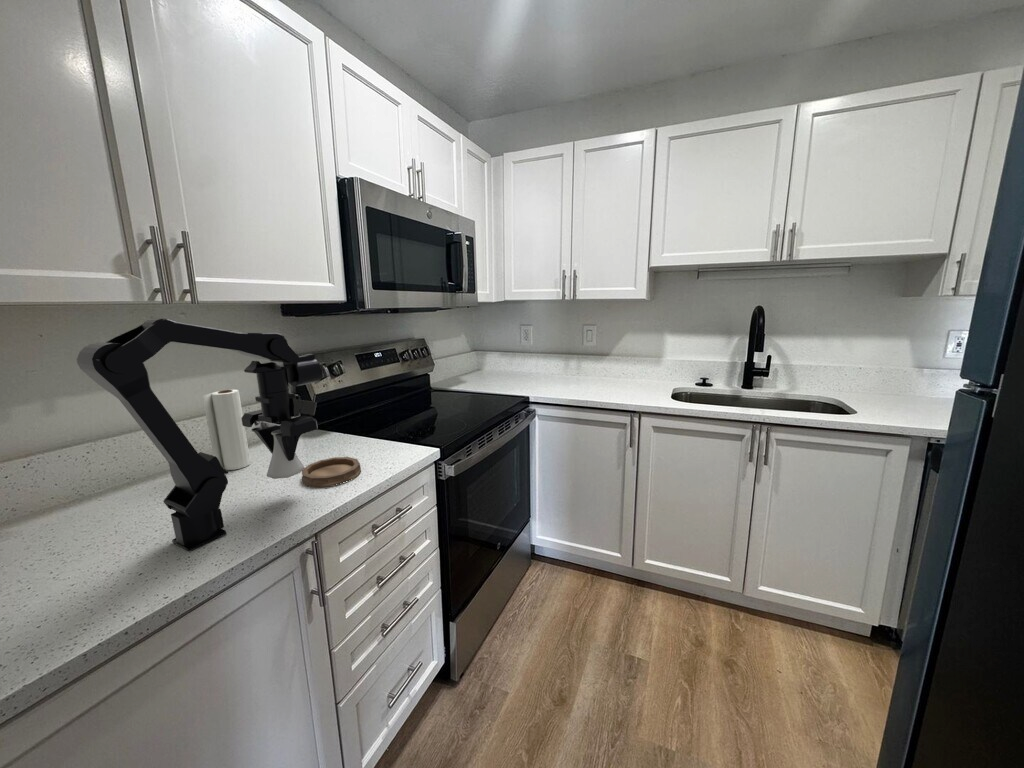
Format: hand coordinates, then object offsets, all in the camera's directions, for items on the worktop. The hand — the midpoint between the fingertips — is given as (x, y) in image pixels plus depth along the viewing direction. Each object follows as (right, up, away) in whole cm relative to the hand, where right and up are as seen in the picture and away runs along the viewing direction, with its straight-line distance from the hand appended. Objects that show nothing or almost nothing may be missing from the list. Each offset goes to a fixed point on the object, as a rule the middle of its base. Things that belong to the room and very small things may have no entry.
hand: (283, 458), depth 91 cm
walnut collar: (+5, -7, +14) cm, 16 cm away
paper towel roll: (-26, -6, +21) cm, 34 cm away
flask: (0, -4, +1) cm, 4 cm away
